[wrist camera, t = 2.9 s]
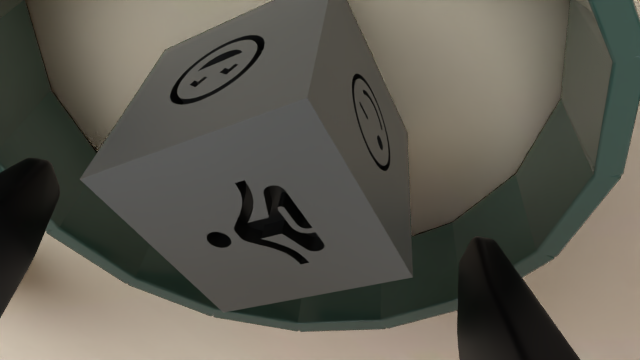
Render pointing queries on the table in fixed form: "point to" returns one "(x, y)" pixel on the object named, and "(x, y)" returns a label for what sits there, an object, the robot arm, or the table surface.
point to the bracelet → (427, 248)
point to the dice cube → (266, 159)
